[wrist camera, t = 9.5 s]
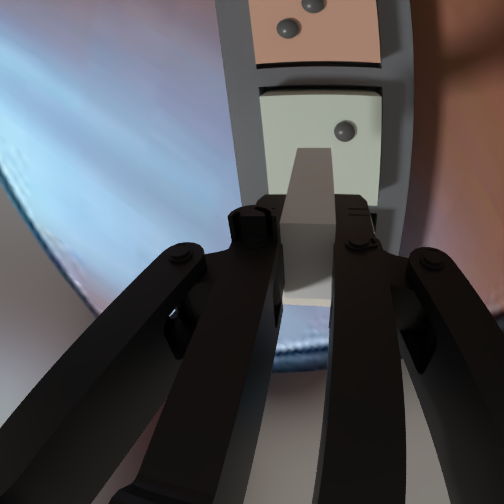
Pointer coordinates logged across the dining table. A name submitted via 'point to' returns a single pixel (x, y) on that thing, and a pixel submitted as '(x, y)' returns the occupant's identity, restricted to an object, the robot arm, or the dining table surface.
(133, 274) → the dining table surface
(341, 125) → the key
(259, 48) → the key
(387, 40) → the keypad
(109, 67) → the dining table surface
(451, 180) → the dining table surface
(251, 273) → the robot arm
